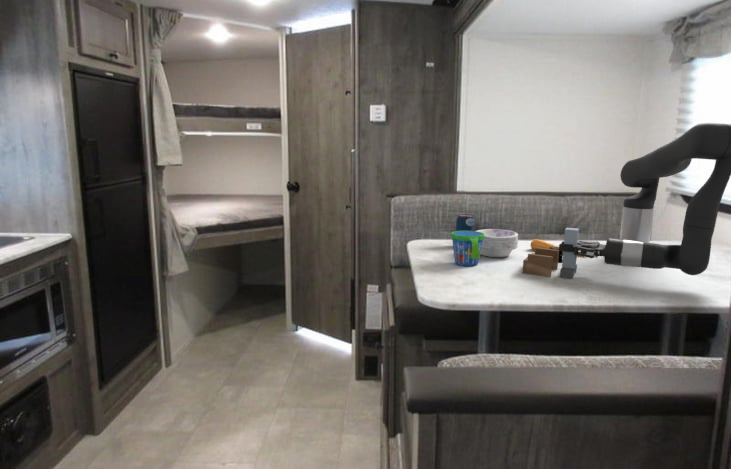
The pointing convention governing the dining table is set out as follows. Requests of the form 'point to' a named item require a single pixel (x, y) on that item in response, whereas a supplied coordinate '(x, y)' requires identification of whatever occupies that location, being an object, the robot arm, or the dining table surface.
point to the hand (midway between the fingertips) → (560, 245)
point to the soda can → (465, 222)
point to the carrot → (543, 245)
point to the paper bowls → (498, 242)
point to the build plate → (559, 254)
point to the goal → (541, 262)
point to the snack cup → (467, 247)
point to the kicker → (569, 254)
